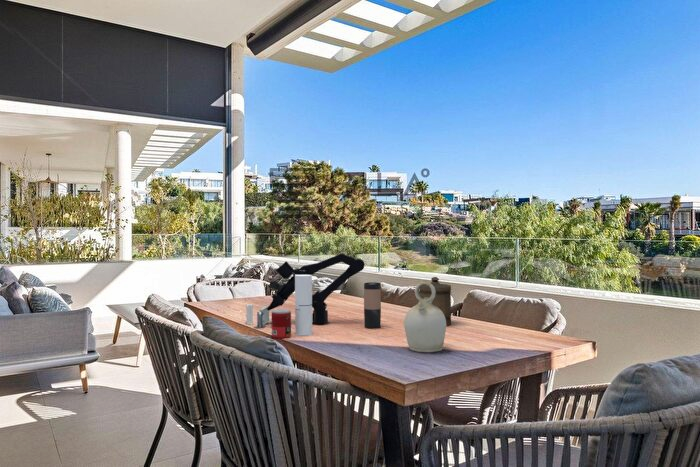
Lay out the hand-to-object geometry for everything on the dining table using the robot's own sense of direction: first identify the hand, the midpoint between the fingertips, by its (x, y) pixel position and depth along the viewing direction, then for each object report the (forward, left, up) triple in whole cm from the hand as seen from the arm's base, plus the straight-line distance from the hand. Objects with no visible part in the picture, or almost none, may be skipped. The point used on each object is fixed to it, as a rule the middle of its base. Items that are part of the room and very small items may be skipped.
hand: (268, 309), depth 241 cm
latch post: (+10, +3, -7) cm, 12 cm away
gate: (0, +2, -6) cm, 6 cm away
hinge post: (-3, +9, -7) cm, 12 cm away
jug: (-84, +13, -7) cm, 85 cm away
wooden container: (-70, -36, -7) cm, 79 cm away
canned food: (-24, +21, -7) cm, 33 cm away
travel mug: (-48, -15, -7) cm, 50 cm away
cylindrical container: (-29, +12, -7) cm, 32 cm away
